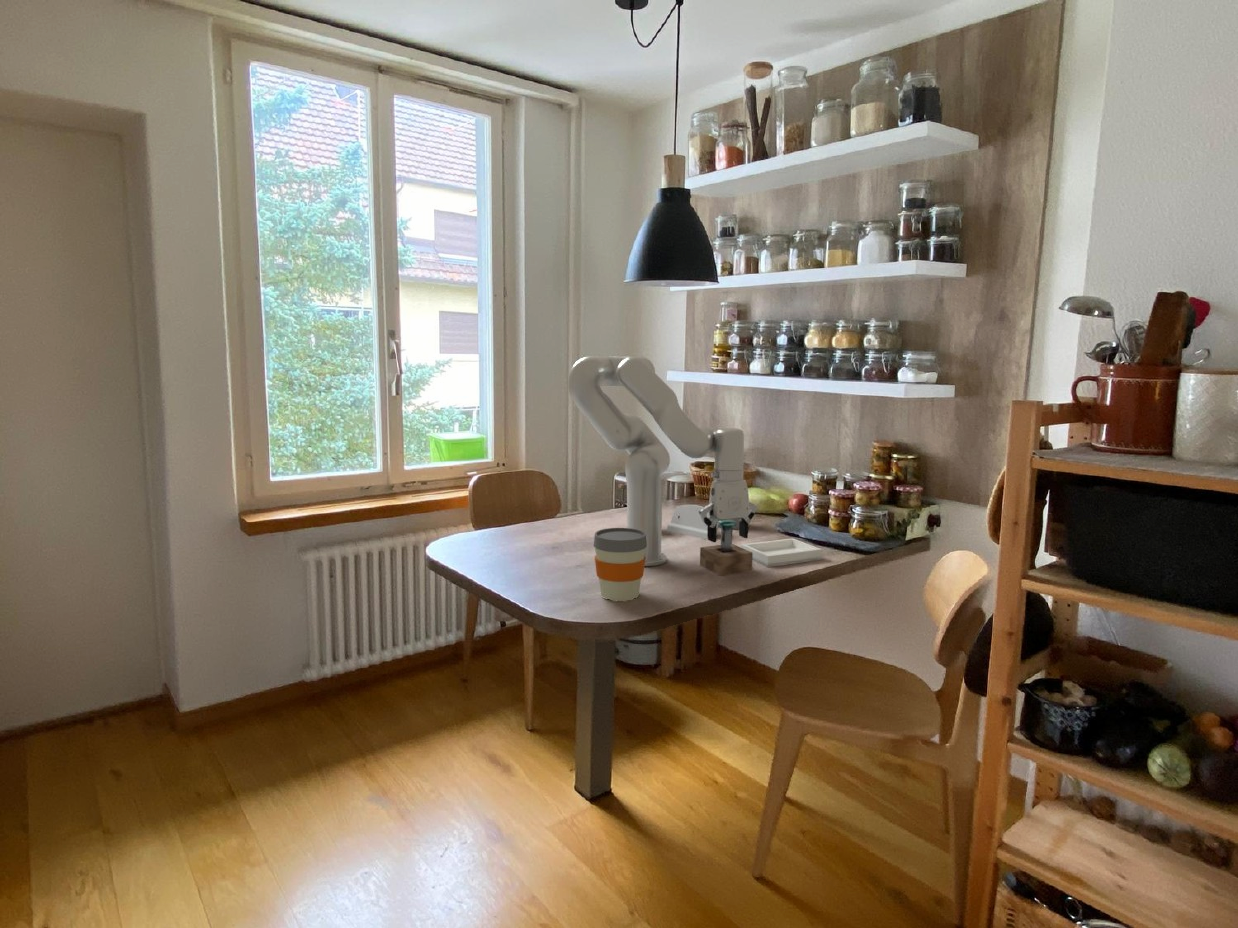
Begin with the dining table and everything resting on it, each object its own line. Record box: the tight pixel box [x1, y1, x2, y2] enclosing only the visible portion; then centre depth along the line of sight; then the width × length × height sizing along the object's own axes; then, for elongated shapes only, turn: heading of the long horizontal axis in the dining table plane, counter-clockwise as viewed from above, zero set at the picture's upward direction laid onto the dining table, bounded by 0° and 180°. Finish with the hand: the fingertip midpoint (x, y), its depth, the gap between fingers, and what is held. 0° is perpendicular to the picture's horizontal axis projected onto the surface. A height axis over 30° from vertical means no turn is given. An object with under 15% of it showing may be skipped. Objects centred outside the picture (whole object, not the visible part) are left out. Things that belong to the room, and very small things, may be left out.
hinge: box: [666, 504, 719, 540], centre depth 237 cm, size 17×5×10 cm, turn 48°
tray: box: [740, 538, 823, 568], centre depth 210 cm, size 18×13×3 cm
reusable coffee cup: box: [593, 527, 647, 602], centre depth 176 cm, size 13×13×15 cm
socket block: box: [699, 543, 753, 576], centre depth 199 cm, size 10×10×5 cm
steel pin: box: [718, 520, 736, 553], centre depth 199 cm, size 5×5×13 cm
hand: (727, 539), depth 198 cm, fingers open, 9 cm apart
